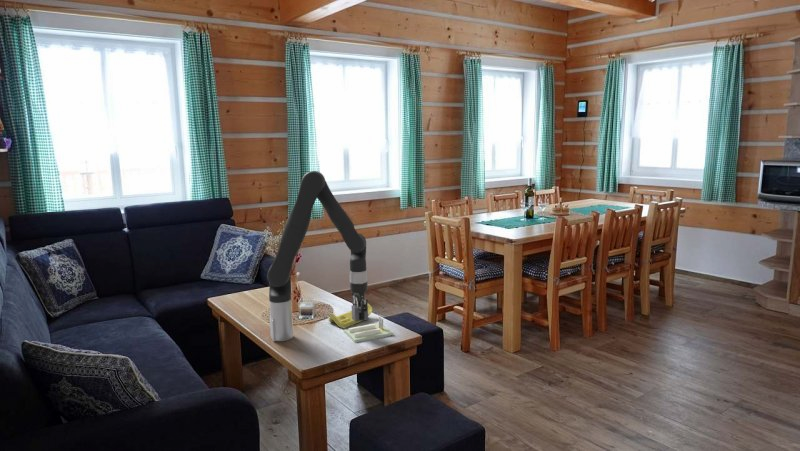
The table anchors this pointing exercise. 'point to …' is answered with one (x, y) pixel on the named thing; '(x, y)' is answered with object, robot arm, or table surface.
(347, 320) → the plastic component
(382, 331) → the board
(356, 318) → the plug
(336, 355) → the table surface
